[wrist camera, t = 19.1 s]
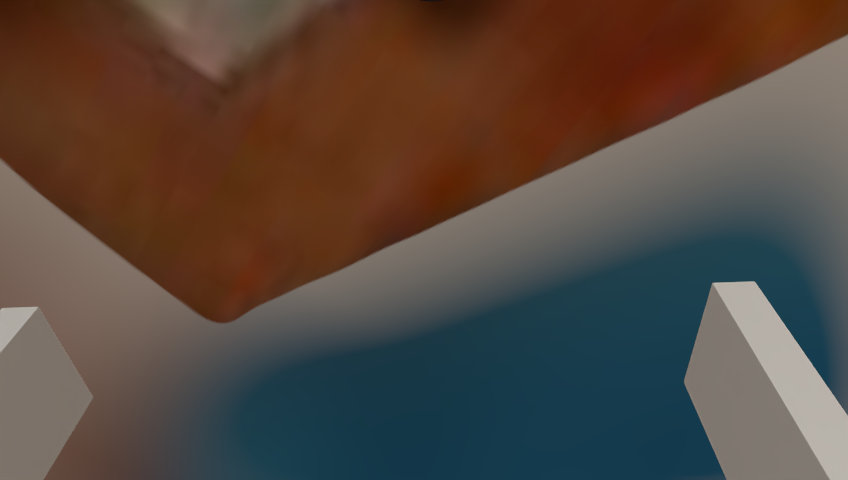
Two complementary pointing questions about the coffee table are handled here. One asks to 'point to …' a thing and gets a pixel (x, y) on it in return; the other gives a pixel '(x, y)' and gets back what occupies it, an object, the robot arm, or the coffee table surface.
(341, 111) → the coffee table surface
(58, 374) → the robot arm
